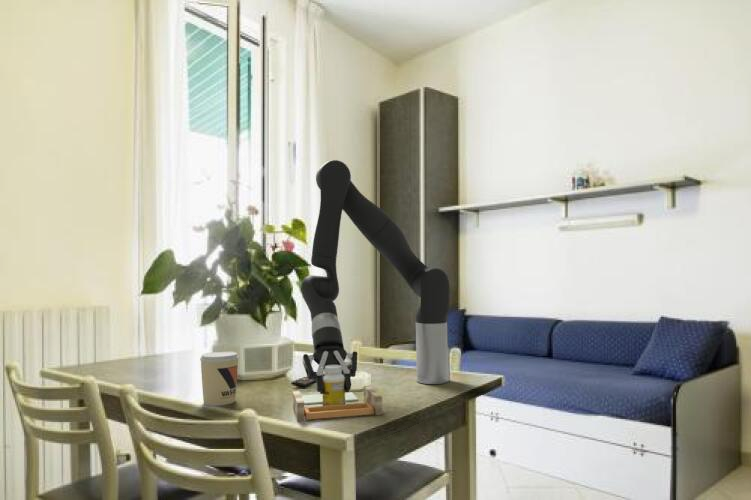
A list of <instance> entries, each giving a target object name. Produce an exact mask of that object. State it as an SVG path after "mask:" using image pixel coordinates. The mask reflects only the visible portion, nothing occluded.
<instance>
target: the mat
mask: <svg viewBox="0 0 751 500" xmlns="http://www.w3.org/2000/svg"><path fill="white" fill-rule="evenodd" d="M301 396H302V399H303V401H304V406H306V405H318V404H320V405H321V404H323V394H320V393H319V394H309V395H308V394H307V395H301ZM358 401H359V399H358V397H357V396H356V395H355V394H354V393H353V392H352V391H351V392H345V403H346V402H358Z"/></svg>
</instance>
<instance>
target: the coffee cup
mask: <svg viewBox="0 0 751 500" xmlns="http://www.w3.org/2000/svg"><path fill="white" fill-rule="evenodd" d="M199 360H200V368H201V369H200V370H201V387H202V399H203V404H204V405H205V406H218V407H219V406H226V405H231V404H233V403H235V402H236V398H237V381H238V369H239V367H238V366H239V365H238V364H239V354H238V352H236V351H214V352H207V353H204V354H203V353H202V355H201V357H200V359H199Z"/></svg>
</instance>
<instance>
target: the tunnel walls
mask: <svg viewBox="0 0 751 500" xmlns="http://www.w3.org/2000/svg"><path fill="white" fill-rule="evenodd" d="M291 396H292V410H293V414H294V416H295V419H296V422H298V423H299V422H301V423H302V422H305V416H304V407H305V405H304V401H303V399H302V396H303V395H301V392H300V390H292V395H291ZM363 403H369V404H370V405H371V406H372V407H373V415H375V416H382V415H383V397H382V395H381V394H380V393H378V392H377V391H376V390H375V389H374V388H373V387H372V386H370V385H363Z"/></svg>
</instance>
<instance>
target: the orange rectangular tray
mask: <svg viewBox="0 0 751 500" xmlns="http://www.w3.org/2000/svg"><path fill="white" fill-rule="evenodd" d="M371 416H374V413H373V407H372V406H371V405H370V404H369V403H364V402H357V403H345V404H341V405H328V406H323V405H318V406H317V405H316V406H306V407H305V406H304V420H305V421H306V422H310V421H320V420H321V421H322V420H323V421H324V420H333V419H335V420H336V419H347V418H357V417H360V418H361V417H371Z"/></svg>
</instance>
